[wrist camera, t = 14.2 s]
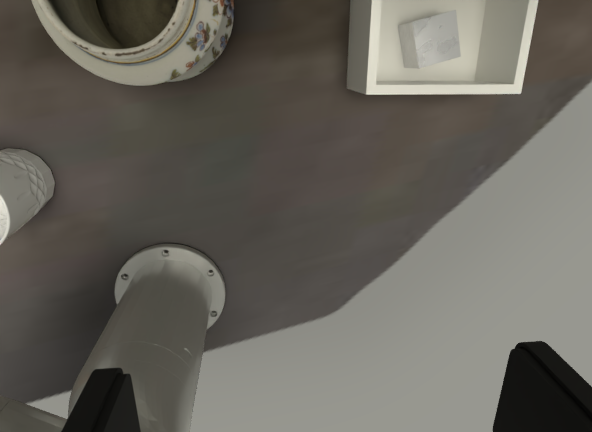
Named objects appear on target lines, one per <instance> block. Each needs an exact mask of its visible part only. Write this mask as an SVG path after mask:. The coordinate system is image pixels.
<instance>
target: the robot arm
mask: <svg viewBox="0 0 592 432" xmlns="http://www.w3.org/2000/svg"><path fill="white" fill-rule="evenodd" d="M165 250H168V252H166V251H165ZM210 270H213V271H210ZM126 274H127V275H126ZM114 294H115V300H116V304H117V307H116V309H115V310H114V312H113V314H112V316H111V318H110V319H109V321H108V323H107V325H106V327H105V328H104V330H103V332H102V334H101V336H100V337H99V339H98V341H97V343H96V344H95V346H94V348H93V350H92V352H91V353H90V355H89V357H88V359H87V361H86V363H85V365H84V366H83V368H82V370H81V372H80V374H79V375H78V377H77V379H76V381H75V384H74V386H73V389H72V392H71V396H70V401H69V410H68V419H65V418H62V417H59V416H57V415H54V414H50V413H48V412H46V411H43V410H40V409H37V408H35V407H32V406H29V405H27V404H24V403H21V402H18V401H16V400H13V399H9V398H6V397H3V396H0V432H190V425H191V418H192V412H193V406H194V399H195V394H196V389H197V383H198V377H199V372H200V366H201V360H202V354H203V349H204V343H205V337H206V331H207V329H208V328H210V327H211V326H212V325H213V324H214V323H215V322H216V320H217V319H218V318H219V316H220V314H221V312H222V310H223V307H224V303H225V297H226V289H225V282H224V279H223V276H222V274H221V272H220V270H219V269H218V267H217V266H216V265H215V264H214V262H213V261H212V260H211V259H209V258H208V257H207V256H206V255H205V254H203V253H201V252H199V251H198V250H196V249H193V248H191V247H188V246H185V245H179V244H158V245H153V246H150V247H147V248H144V249H142V250H140V251H139V252H137V253H135V254H134V255H133V256H132V257H131V258H129V259H128V260H127V261H126V263H125V264H124V266H123V267H122V268H121V270H120V272H119V274H118V276H117V279H116V282H115V292H114ZM493 432H592V387H591V386H590V385H589V384H588V383H587V382H586V381H585V380H584V379H583V378H582V377H581V376H580V375H579V374H578V373H577V372H576V371H575V370H574V369H573V368H572V367H570V366H569V365H568V364H567V363H566V362H565V361H564V360H563V359H562V358H561V357H560V356H559V355H558V354H557V353H556V352H555V351H554V350H553V349H552V348H551V347H550V346H549V345H548V344H546V343H545V342H542V341H536V342H521V343H518V344H517V345H516V347H515V349H512V350H511V352H510V355H509V359H508V364H507V368H506V372H505V377H504V381H503V386H502V390H501V394H500V399H499V403H498V408H497V412H496V416H495V420H494V425H493Z"/></svg>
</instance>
